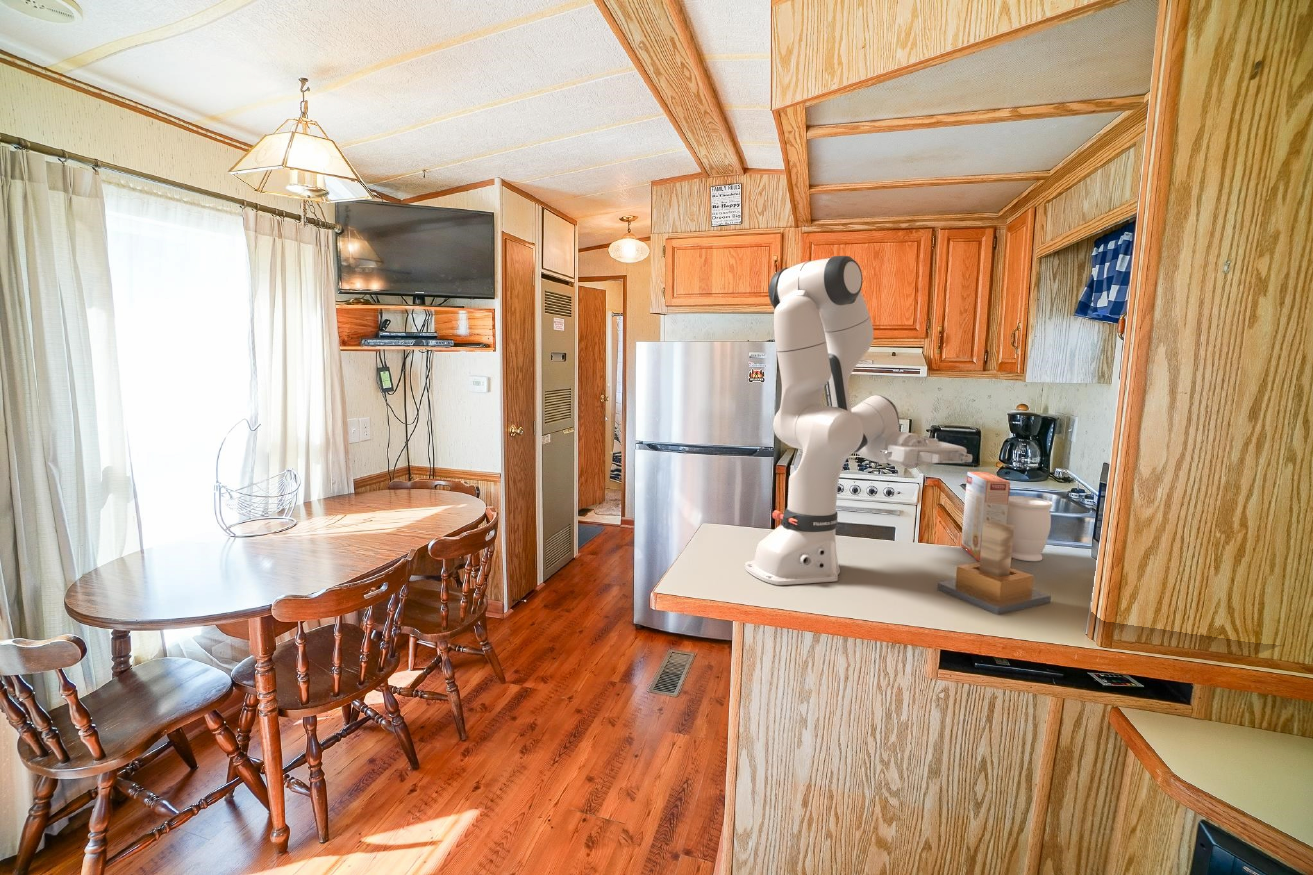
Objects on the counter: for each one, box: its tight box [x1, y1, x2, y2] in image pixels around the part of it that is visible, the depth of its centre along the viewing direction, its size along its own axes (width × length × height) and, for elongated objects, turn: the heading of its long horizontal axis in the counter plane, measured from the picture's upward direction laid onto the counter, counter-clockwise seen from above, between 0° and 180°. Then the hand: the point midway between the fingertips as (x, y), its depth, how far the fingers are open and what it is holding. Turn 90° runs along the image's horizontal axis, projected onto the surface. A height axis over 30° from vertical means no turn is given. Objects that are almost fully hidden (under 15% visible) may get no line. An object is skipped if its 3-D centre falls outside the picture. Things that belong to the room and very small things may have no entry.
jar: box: [1006, 495, 1053, 562], centre depth 147 cm, size 11×10×15 cm
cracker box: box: [960, 471, 1011, 562], centre depth 148 cm, size 14×6×21 cm, turn 168°
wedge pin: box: [979, 522, 1014, 577], centre depth 121 cm, size 4×4×14 cm
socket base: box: [936, 561, 1052, 615], centre depth 122 cm, size 16×14×6 cm
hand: (955, 458), depth 131 cm, fingers open, 8 cm apart
